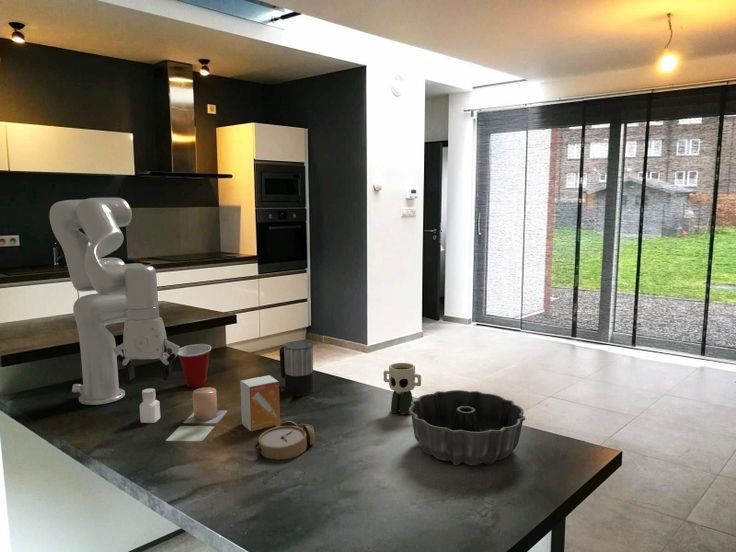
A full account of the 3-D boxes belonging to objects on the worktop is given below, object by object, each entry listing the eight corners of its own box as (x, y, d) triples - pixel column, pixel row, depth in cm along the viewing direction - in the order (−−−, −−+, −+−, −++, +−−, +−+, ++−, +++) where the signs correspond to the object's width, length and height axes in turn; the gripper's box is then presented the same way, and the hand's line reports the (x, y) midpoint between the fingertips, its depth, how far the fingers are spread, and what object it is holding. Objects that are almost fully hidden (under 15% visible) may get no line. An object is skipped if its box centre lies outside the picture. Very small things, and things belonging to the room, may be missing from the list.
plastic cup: (170, 388, 183) (168, 351, 181) (193, 378, 192) (191, 342, 191) (198, 392, 178) (196, 354, 177) (220, 381, 188) (218, 345, 187)
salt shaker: (147, 422, 155) (144, 387, 154) (161, 422, 155) (159, 388, 153) (140, 427, 151) (137, 392, 150) (154, 428, 151) (152, 393, 149)
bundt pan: (545, 448, 136) (546, 407, 134) (481, 489, 117) (482, 442, 116) (453, 419, 154) (453, 382, 153) (386, 450, 135) (385, 409, 134)
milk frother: (321, 389, 179) (319, 342, 177) (287, 405, 166) (285, 355, 164) (285, 382, 187) (284, 337, 185) (251, 397, 173) (248, 348, 171)
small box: (251, 437, 144) (248, 386, 142) (241, 429, 149) (239, 380, 147) (281, 429, 148) (279, 380, 147) (270, 422, 154) (268, 374, 152)
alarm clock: (247, 441, 135) (290, 411, 147) (251, 459, 136) (293, 428, 148) (282, 453, 129) (324, 420, 140) (286, 472, 130) (327, 438, 142)
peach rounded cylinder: (190, 420, 151) (189, 394, 150) (198, 412, 157) (197, 387, 156) (213, 421, 151) (211, 395, 150) (220, 412, 157) (219, 387, 156)
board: (153, 448, 139) (153, 442, 138) (188, 414, 160) (187, 408, 160) (211, 449, 138) (211, 443, 137) (238, 414, 159) (237, 409, 159)
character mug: (378, 413, 158) (378, 367, 156) (388, 405, 165) (388, 360, 163) (416, 419, 154) (416, 371, 152) (425, 410, 160) (425, 364, 158)
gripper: (103, 317, 146) (109, 383, 148) (170, 316, 144) (175, 382, 146) (118, 312, 153) (123, 375, 155) (182, 310, 152) (186, 374, 154)
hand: (148, 378), depth 151 cm, fingers open, 9 cm apart
